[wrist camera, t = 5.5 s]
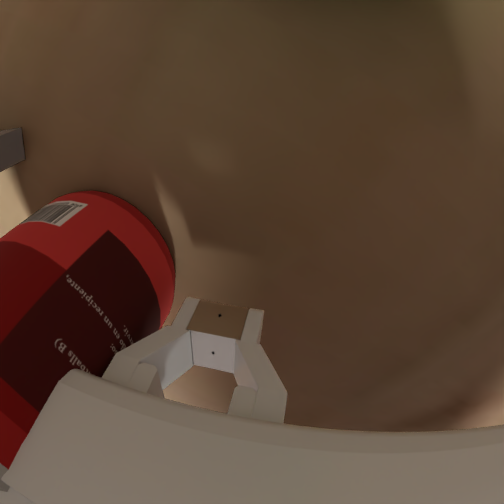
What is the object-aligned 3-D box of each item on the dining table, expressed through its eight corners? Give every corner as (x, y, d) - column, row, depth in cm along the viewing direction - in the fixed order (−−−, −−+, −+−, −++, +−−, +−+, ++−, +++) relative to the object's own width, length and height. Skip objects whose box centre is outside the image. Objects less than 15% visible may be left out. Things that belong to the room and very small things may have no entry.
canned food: (32, 252, 15) (-93, 389, 6) (84, 145, 11) (-150, 317, 2) (129, 342, 17) (42, 506, 8) (217, 272, 13) (100, 547, 4)
